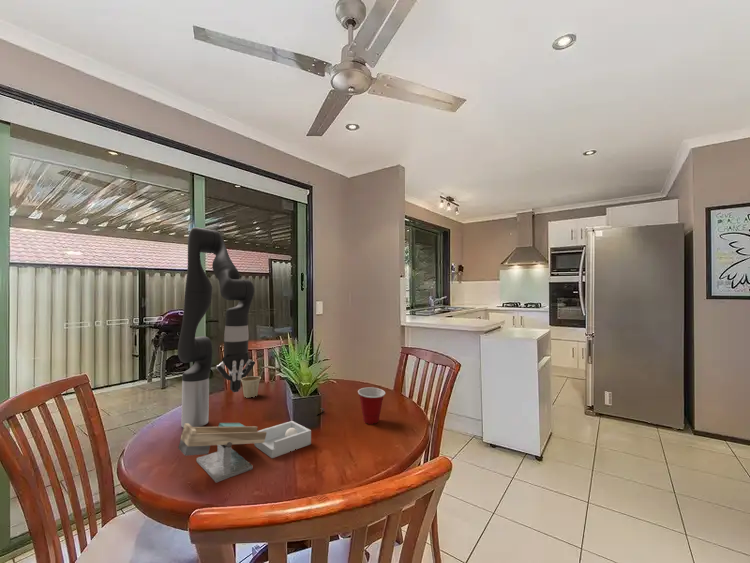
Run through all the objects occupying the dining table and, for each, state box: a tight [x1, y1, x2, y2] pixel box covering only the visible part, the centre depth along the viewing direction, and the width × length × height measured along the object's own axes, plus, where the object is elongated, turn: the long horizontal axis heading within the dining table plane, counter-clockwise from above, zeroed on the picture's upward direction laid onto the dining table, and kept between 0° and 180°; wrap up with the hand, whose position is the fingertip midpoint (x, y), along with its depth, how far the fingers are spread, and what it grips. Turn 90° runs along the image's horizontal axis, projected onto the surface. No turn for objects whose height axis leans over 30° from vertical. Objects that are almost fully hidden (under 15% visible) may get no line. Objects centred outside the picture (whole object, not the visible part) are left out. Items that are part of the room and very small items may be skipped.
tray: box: [253, 420, 312, 459], centre depth 112 cm, size 12×14×4 cm
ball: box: [285, 428, 297, 437], centre depth 114 cm, size 4×4×4 cm
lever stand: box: [196, 445, 253, 484], centre depth 99 cm, size 16×10×6 cm, turn 44°
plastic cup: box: [357, 386, 386, 425], centre depth 132 cm, size 11×11×12 cm
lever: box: [178, 422, 267, 457], centre depth 103 cm, size 20×22×6 cm
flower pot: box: [240, 375, 262, 399], centre depth 166 cm, size 9×9×9 cm
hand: (235, 391), depth 112 cm, fingers closed
